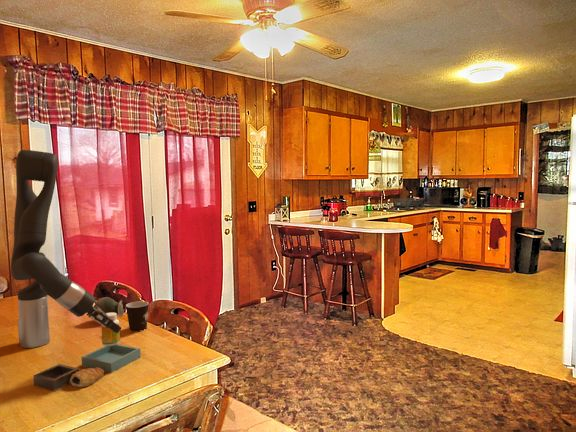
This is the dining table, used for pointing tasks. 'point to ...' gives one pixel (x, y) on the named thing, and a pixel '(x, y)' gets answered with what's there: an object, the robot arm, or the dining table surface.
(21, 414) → the dining table surface
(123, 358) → the tray
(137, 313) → the coffee mug
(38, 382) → the collar
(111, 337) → the supplement bottle
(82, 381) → the pastry
